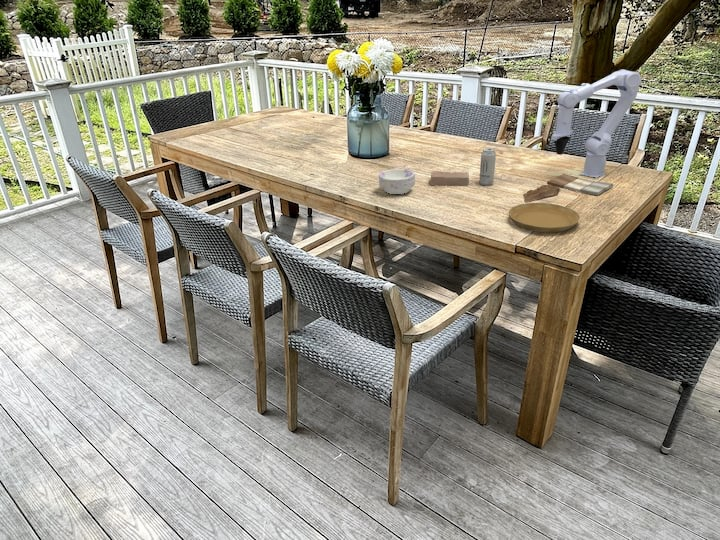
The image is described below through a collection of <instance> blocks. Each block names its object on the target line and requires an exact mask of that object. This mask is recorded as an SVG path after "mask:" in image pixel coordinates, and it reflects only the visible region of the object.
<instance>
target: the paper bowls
mask: <svg viewBox="0 0 720 540" xmlns="http://www.w3.org/2000/svg"><path fill="white" fill-rule="evenodd" d="M378 184H379V185H378V186H379V188H381V189H383V190H384V192H385V193H386V192H387V193H386V194H388V193H391V194H401V195H405V194H407V193H409V191H410V190H411V189H412V188H413V187H414V186H415V185H416V173H415V172H414V171H413V170H410V169H406V168H392V169H387V170H384V171H383V170H382V171H381V172H380V173H379V174H378ZM404 193H405V194H404ZM391 194H390V195H391Z"/></svg>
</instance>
